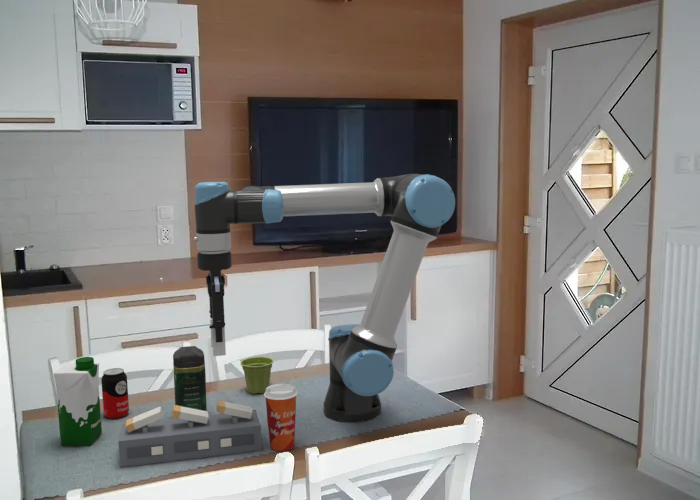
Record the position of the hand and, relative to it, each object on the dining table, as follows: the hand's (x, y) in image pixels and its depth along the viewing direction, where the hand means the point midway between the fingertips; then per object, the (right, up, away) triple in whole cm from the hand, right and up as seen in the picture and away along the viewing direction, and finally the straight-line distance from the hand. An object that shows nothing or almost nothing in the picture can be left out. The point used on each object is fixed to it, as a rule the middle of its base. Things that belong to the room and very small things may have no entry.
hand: (218, 350), depth 158 cm
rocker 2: (-7, -15, 0) cm, 16 cm away
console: (-6, -23, +2) cm, 24 cm away
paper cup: (+14, -23, +3) cm, 27 cm away
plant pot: (+4, -18, +40) cm, 44 cm away
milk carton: (-34, -23, +8) cm, 42 cm away
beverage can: (-31, -21, +23) cm, 44 cm away
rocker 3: (+3, -14, +3) cm, 15 cm away
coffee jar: (-11, -21, +20) cm, 31 cm away
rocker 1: (-16, -15, -2) cm, 22 cm away
